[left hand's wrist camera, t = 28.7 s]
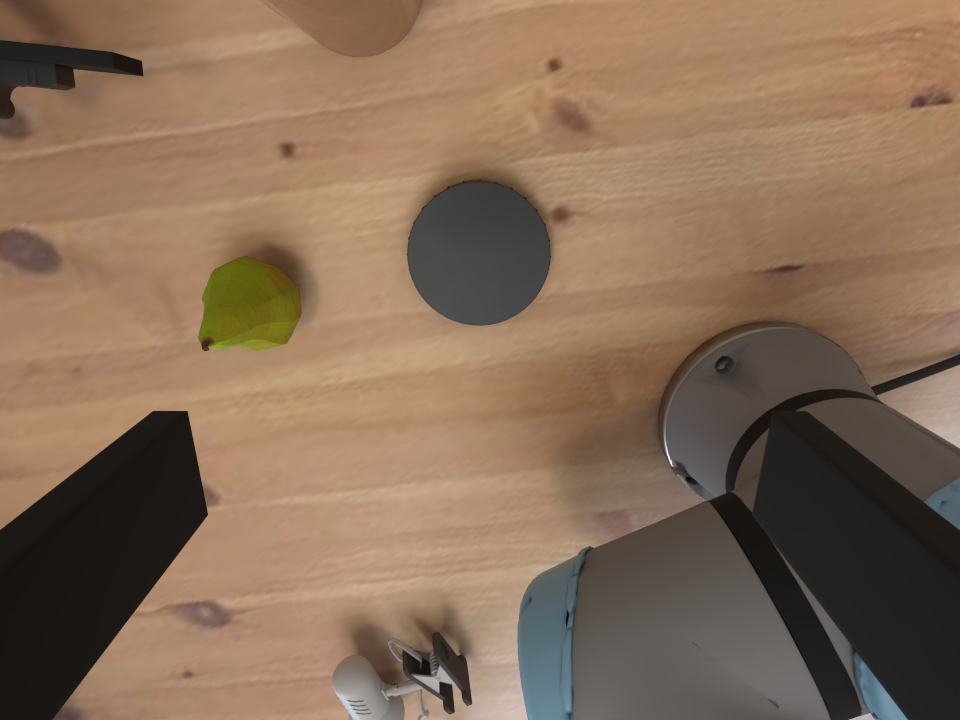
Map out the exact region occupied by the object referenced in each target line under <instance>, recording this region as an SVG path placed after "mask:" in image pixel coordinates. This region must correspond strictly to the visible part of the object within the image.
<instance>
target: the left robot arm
mask: <svg viewBox="0 0 960 720" xmlns="http://www.w3.org/2000/svg"><path fill="white" fill-rule="evenodd" d="M957 365H960V354H959V355H957V356H954V357H952V358H949V359H946V360H944V361H941V362H938V363H936V364H933V365H931V366H928V367H925V368H923V369H920V370H917V371H915V372H912V373H909V374H906V375H904V376H901V377H898V378H896V379H893V380H890V381H887V382H884V383H882V384H879V385H876V386H873V387H870V386H869V384H868V383H867V382H866V379H865V378H864V376H863V374H862V372H861V370H860V369H859V367H858V365H857V364H856V363H855V361H854V360H853V359H852V358H851V356H850V355H849V354H848V353H847V352H846V351H845V350H844V349H842V348H841V347H840V346H839V345H838V344H836V343H835V342H833V341H831V340H830V339H828V338H826V337H824V336H822V335H820V334H818V333H816V332H814V331H812V330H810V329H808V328H805V327H802V326H799V325H795V324H790V323H784V322H761V323H754V324H749V325H744V326H741V327H738V328H734V329H732V330H729V331H727V332H724V333H722V334H720V335H718V336H716V337H715V338H713V339H711V340H710V341H708V342H706V343H705V344H703V345H702V346H701V347H700V348H698V349H697V350H696V351H695V352H693V353H692V354H691V355H690V356H689V357H688V358H687V359H686V360H685V361H684V362H683V364H682V365H681V366H680V367H679V369H678V370H677V371H676V372H675V374H674V376H673V377H672V379H671V380H670V382H669V384H668V386H667V388H666V390H665V393H664V396H663V398H662V402H661V405H660V411H659V420H658V428H659V437H660V442H661V445H662V448H663V451H664V453H665V455H666V457H667V459H668V461H669V462H670V464H671V466H670V467H671V468H672V470H673V471H674V473H675V475H678V476H679V478H680V479H681V480H682V481H683V482H684V483H685V484H686V485H687V486H688V487H689V488H690V489H691V490H693V491H694V492H695V493H697V494H698V495H700V496H701V497H703V498H704V499H706V500H708V501H705V502H702V503H700V504H698V505H696V506H693V507H691V508H689V509H687V510H684V511H682V512H680V513H677V514H675V515H673V516H671V517H668V518H666V519H664V520H661V521H659V522H657V523H654V524H652V525H649V526H647V527H645V528H642V529H640V530H637V531H635V532H633V533H630V534H628V535H625V536H623V537H620V538H618V539H616V540H613V541H611V542H608V543H606V544H604V545H601V546H599V547H596V548H593V547H591V546H589V547H587V548H584V549H582V550H581V551H580V552H579V554H578V555H577V556H575V557H573V558H571V559H569V560H567V561H565V562H563V563H561V564H559V565H557V566H555V567H553V568H551V569H549V570H547V571H545V572H543V573H541V574H540V575H538V576H537V577H536V578H535V579H534V580H533V581H532V582H531V583H530V584H529V586H528V588H527V590H526V591H525V593H524V596H523V599H522V602H521V606H520V614H519V622H518V659H519V669H520V678H521V685H522V691H523V697H524V702H525V707H526V712H527V717H528V720H849V719H852V718H855V717H858V716H862V715H865V714H868V713H871V715H872V716H873V718H874V719H875V720H960V448H958V447H956V446H955V445H953V444H951V443H950V442H948V441H946V440H945V439H943V438H941V437H939V436H938V435H936V434H934V433H933V432H931V431H929V430H928V429H926V428H924V427H923V426H921V425H919V424H918V423H916V422H914V421H913V420H911V419H909V418H908V417H906V416H904V415H903V414H901V413H899V412H898V411H896V410H894V409H893V408H891V407H889V406H887V405H885V404H884V403H882V402H881V401H880V400H879V399H878V397H877V396H876V395H879V394H882V393H884V392H887V391H890V390H893V389H895V388H898V387H901V386H904V385H906V384H909V383H912V382H915V381H917V380H920V379H923V378H925V377H928V376H931V375H933V374H936V373H939V372H941V371H944V370H947V369H949V368H952V367H954V366H957ZM207 516H208V512H207V507H206V502H205V497H204V492H203V487H202V482H201V477H200V472H199V467H198V462H197V456H196V451H195V446H194V441H193V436H192V431H191V426H190V421H189V416H188V411H153V412H152V413H150V414H149V415H148V416H146V417H145V418H144V419H143V420H141V421H140V422H139V423H137V424H136V425H135V426H134V427H132V428H131V429H130V430H128V431H127V432H126V433H124V434H123V435H122V436H121V437H119V438H118V439H117V440H115V441H114V442H113V443H112V444H110V445H109V446H108V447H106V448H105V449H104V450H103V451H101V452H100V453H99V454H97V455H96V456H95V457H94V458H92V459H91V460H90V461H88V462H87V463H86V464H85V465H83V466H82V467H81V468H79V469H78V470H77V471H76V472H74V473H73V474H72V475H70V476H69V477H68V478H67V479H65V480H64V481H63V482H61V483H60V484H59V485H58V486H56V487H55V488H54V489H52V490H51V491H50V492H49V493H47V494H46V495H45V496H43V497H42V498H41V499H40V500H38V501H37V502H36V503H34V504H33V505H32V506H31V507H29V508H28V509H27V510H25V511H24V512H23V513H22V514H20V515H19V516H18V517H16V518H15V519H14V520H13V521H11V522H10V523H9V524H7V525H6V526H5V527H4V528H2V529H1V530H0V720H52V719H53V718H54V717H55V715H56V714H57V713H58V712H59V710H60V709H61V708H62V706H63V705H64V704H65V702H66V701H67V700H68V698H69V697H70V696H71V694H72V693H73V692H74V690H75V689H76V688H77V687H78V685H79V684H80V683H81V681H82V680H83V679H84V677H85V676H86V675H87V673H88V672H89V671H90V669H91V668H92V667H93V665H94V664H95V663H96V662H97V660H98V659H99V658H100V656H101V655H102V654H103V652H104V651H105V650H106V648H107V647H108V646H109V644H110V643H111V642H112V641H113V639H114V638H115V637H116V635H117V634H118V633H119V631H120V630H121V629H122V627H123V626H124V625H125V623H126V622H127V621H128V619H129V618H130V617H131V616H132V614H133V613H134V612H135V610H136V609H137V608H138V606H139V605H140V604H141V602H142V601H143V600H144V598H145V597H146V596H147V594H148V593H149V592H150V591H151V589H152V588H153V587H154V585H155V584H156V583H157V581H158V580H159V579H160V577H161V576H162V575H163V573H164V572H165V571H166V569H167V568H168V567H169V566H170V564H171V563H172V562H173V560H174V559H175V558H176V556H177V555H178V554H179V552H180V551H181V550H182V548H183V547H184V546H185V545H186V543H187V542H188V541H189V539H190V538H191V537H192V535H193V534H194V533H195V531H196V530H197V529H198V527H199V526H200V525H201V523H202V522H203V521H204V520H205V518H206V517H207Z"/></svg>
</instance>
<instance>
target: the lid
mask: <svg viewBox="0 0 960 720" xmlns="http://www.w3.org/2000/svg"><path fill="white" fill-rule="evenodd" d="M526 199H527V198H525V197H522V196H521V195H520V194H518V193H517V192H515V191H514V190H513V188H508V187H506V186H504V185H501V184H498V183H497V182H495V183H494V182H488V181H481V180H479V181H470V182H465V181H463V183H460V184H457V185H454V186H452V187H447V189H446V190H444V191H442V192H441V193H440V194H438V195H437V196H436V195H435V196H434V197H433V199H432V200H431V201H430V202H429V203H428V204H427V205H426V206H424V207H423V208H422V211H421V212H420V214H419V215H418V217H417V219H416V220H415V221H414V223H413V224H414V225H413V228H412V230H411V233H410V237H409V238H408V239H409V242H408V253H407V255H408V265H409V271H410V274H411V277H412V280H413V282H414V284H415V287H416V288H417V290H418V292H419V293H420V295H421V296H422V297H423V299H424V300H425V301H426V302H427V303H428V304H429V305H430V306H431V307H432V308H433V309H434V310H436V311H437V312H438V313H439V314H441V315H443V316H445V317H446V318H448V319H451V320H453V321H456V322H459V323H463V324H468V325H491V324H495V323H499V322H502V321H505V320H508V319H510V318H511V317H513V316H515V315H517V314H518V313H520V312H521V311H523V310H524V309H525V308H526V307H527V306H528V305H529V304H530V303H531V302H532V301H533V300H534V299H535V298H536V296H537V295H538V293H539V292H540V290H541V288H542V286H543V284H544V282H545V280H546V277H547V274H548V270H549V265H550V258H551V256H550V243H549V242H550V240H549V237H548V234H547V231H546V228H545V226H546V225H545V224H544V223H543V221H542V219H541V217H540V216H539V214H538V213H537V210H536V209H535V208H534V207H533V206H532V205H531V204H530V203H529V202H528V201H527V200H526Z"/></svg>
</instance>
